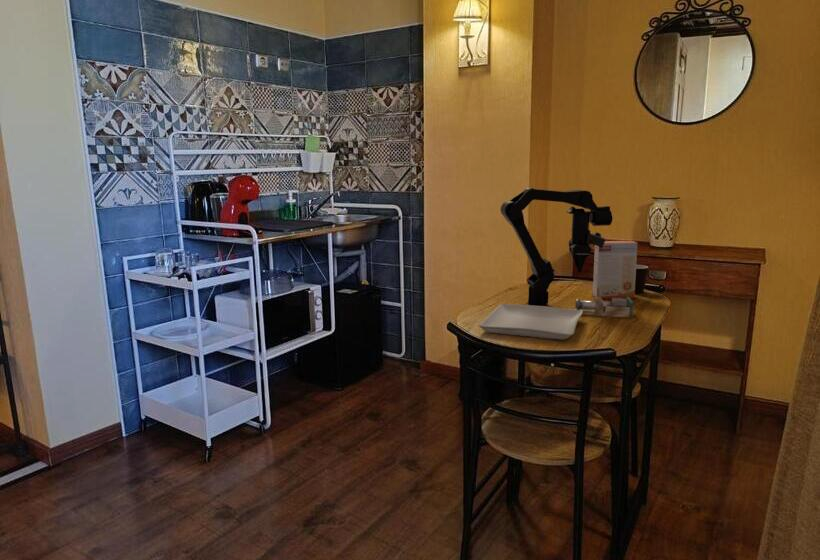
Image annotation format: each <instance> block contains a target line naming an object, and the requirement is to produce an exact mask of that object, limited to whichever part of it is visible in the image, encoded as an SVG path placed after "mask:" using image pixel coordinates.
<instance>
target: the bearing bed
mask: <svg viewBox="0 0 820 560" xmlns="http://www.w3.org/2000/svg"><path fill="white" fill-rule="evenodd" d="M593 297H594V298H593V301H596V310H582V309H580V310H582V311H583V314H582V315H585V316H586V315H587V316H596V317H609V318H633V314H634V302H633V300H632V298H630V297H626V298H625V299H626V301H627V305H626V307H608V306H605V310H603V298H601V297H595V296H593ZM573 309H574V310H575V308H573ZM582 315H581V316H582Z"/></svg>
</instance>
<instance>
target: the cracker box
mask: <svg viewBox="0 0 820 560" xmlns="http://www.w3.org/2000/svg"><path fill="white" fill-rule="evenodd" d="M593 255H594V257H593V260H594V261H593V281H592V283H593V284H592V296H593V297H601V298H602V299H612V298H625V299H626V297H630V299H634V298H635V295H636V294H635V279H636V265H637V262H638V261H637V259H638V257H637V256H638V242H637V241H634V240H605V243H604V245H603V247H602V248H600V247H598V246H596V245H594V254H593Z"/></svg>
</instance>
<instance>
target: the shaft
mask: <svg viewBox="0 0 820 560" xmlns="http://www.w3.org/2000/svg"><path fill="white" fill-rule="evenodd" d="M574 303H575V305H574V309H575V310H580V309H582V310H596V301H594V300H581V299H579V298H576V299H575V302H574ZM605 306H608V307H613V302H612V300H611V301H605V300H604V301H603V310H605Z"/></svg>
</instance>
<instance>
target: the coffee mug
mask: <svg viewBox="0 0 820 560" xmlns="http://www.w3.org/2000/svg"><path fill="white" fill-rule="evenodd" d="M648 271H649V266H647V265H643V264H636V279H635V295H638V294H637V293H641V294H644V292H645V291H644V290H645V287H646V283H647V276H648Z"/></svg>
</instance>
